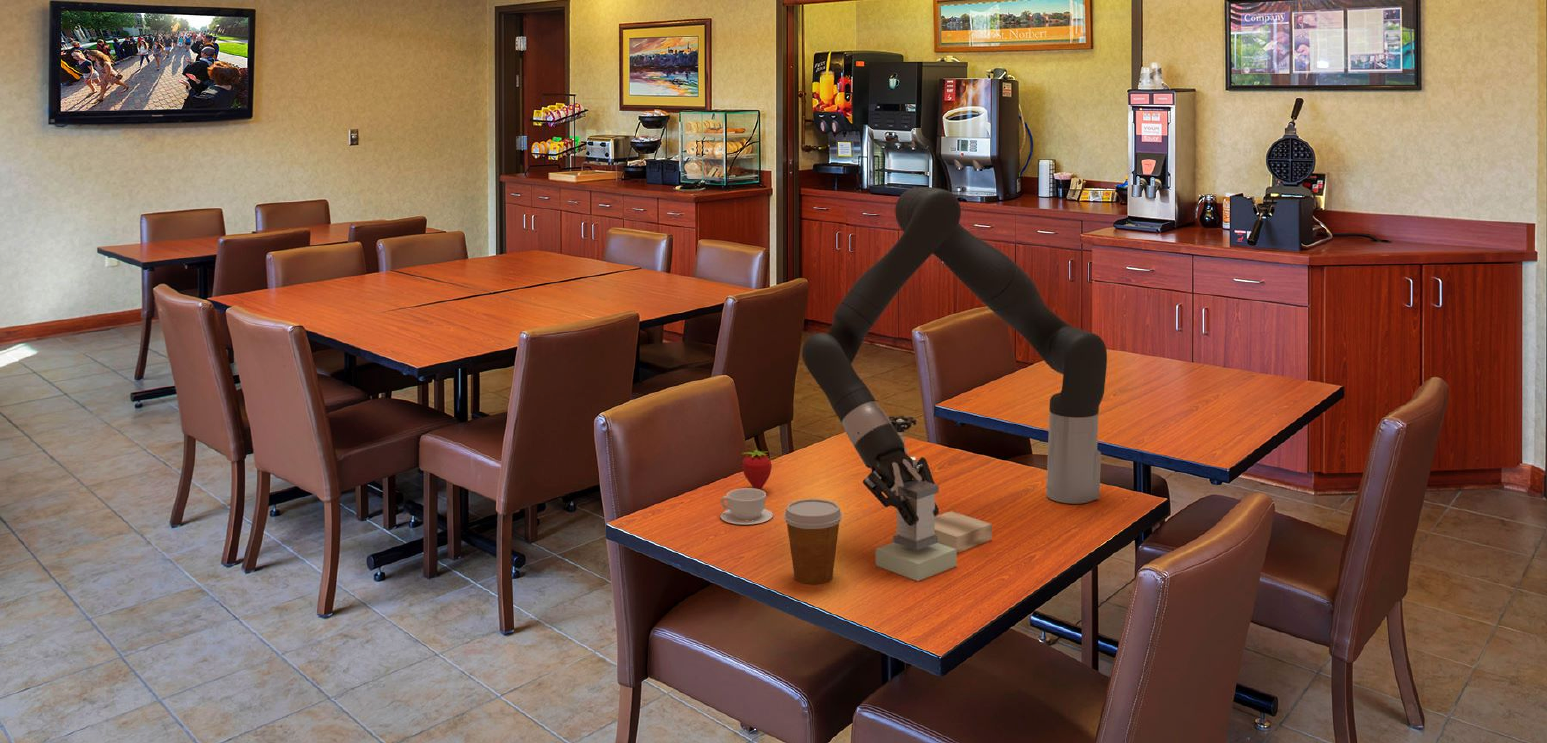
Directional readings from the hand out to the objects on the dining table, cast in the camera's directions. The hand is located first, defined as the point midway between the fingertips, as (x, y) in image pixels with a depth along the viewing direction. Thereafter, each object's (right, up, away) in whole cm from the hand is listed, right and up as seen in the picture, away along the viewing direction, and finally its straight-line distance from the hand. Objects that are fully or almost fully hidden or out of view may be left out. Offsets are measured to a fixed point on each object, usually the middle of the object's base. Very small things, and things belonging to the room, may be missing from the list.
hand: (924, 519), depth 197 cm
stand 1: (-1, -8, +3) cm, 9 cm away
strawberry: (-28, 0, +43) cm, 51 cm away
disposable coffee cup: (-18, -10, -1) cm, 21 cm away
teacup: (-30, -3, +28) cm, 42 cm away
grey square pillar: (-1, -4, +2) cm, 5 cm away
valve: (+2, +3, +53) cm, 53 cm away
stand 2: (+7, -5, +15) cm, 17 cm away
